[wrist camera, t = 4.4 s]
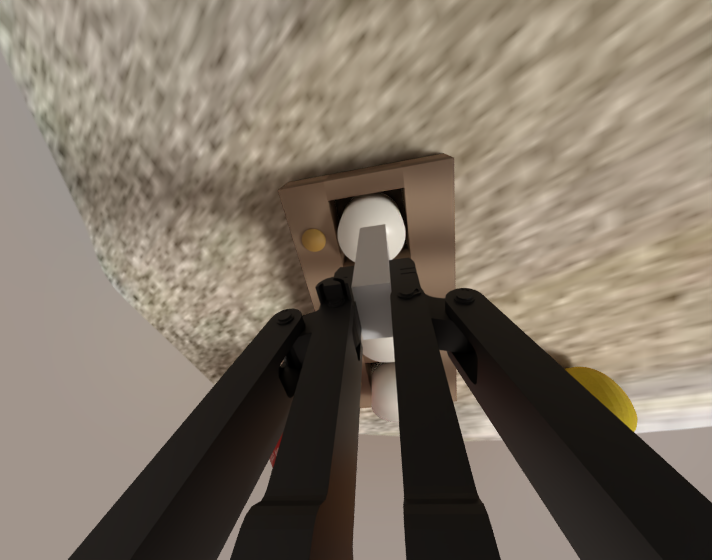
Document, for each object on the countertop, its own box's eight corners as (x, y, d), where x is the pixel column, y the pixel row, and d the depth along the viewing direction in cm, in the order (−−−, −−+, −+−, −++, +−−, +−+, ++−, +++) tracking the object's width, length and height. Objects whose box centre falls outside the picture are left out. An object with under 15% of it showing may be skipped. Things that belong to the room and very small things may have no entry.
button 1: (336, 197, 22) (330, 208, 19) (397, 186, 21) (401, 196, 18) (347, 253, 24) (344, 270, 21) (404, 244, 23) (408, 261, 21)
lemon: (537, 389, 32) (582, 463, 25) (540, 354, 30) (591, 426, 23) (590, 383, 31) (652, 457, 24) (598, 346, 29) (669, 418, 22)
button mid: (353, 296, 24) (351, 319, 21) (410, 289, 23) (415, 311, 21) (362, 338, 26) (361, 364, 23) (414, 333, 26) (419, 359, 23)
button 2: (368, 363, 28) (367, 390, 25) (417, 359, 27) (422, 386, 24) (375, 395, 30) (375, 423, 27) (420, 392, 29) (425, 420, 27)
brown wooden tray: (288, 182, 22) (276, 190, 19) (443, 153, 21) (454, 158, 18) (347, 386, 34) (345, 410, 31) (449, 378, 32) (457, 402, 29)
